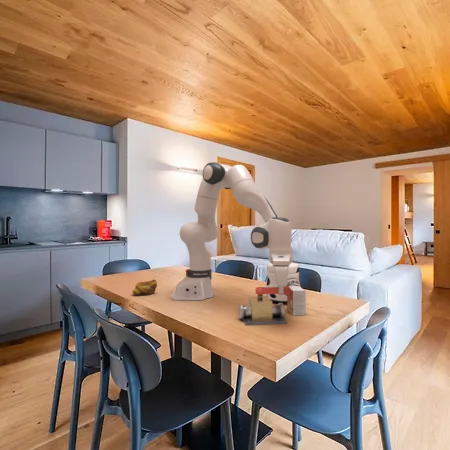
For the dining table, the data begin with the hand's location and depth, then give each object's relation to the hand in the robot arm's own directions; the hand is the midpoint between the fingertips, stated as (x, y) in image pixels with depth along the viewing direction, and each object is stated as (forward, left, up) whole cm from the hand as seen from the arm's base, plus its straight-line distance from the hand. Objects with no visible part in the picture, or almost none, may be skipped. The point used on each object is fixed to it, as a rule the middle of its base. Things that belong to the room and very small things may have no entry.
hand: (281, 293), depth 110 cm
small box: (+9, +9, -11) cm, 17 cm away
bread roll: (-63, +49, -11) cm, 80 cm away
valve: (-8, +3, -11) cm, 14 cm away
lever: (-3, +3, -1) cm, 4 cm away
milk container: (+9, +28, -11) cm, 31 cm away
